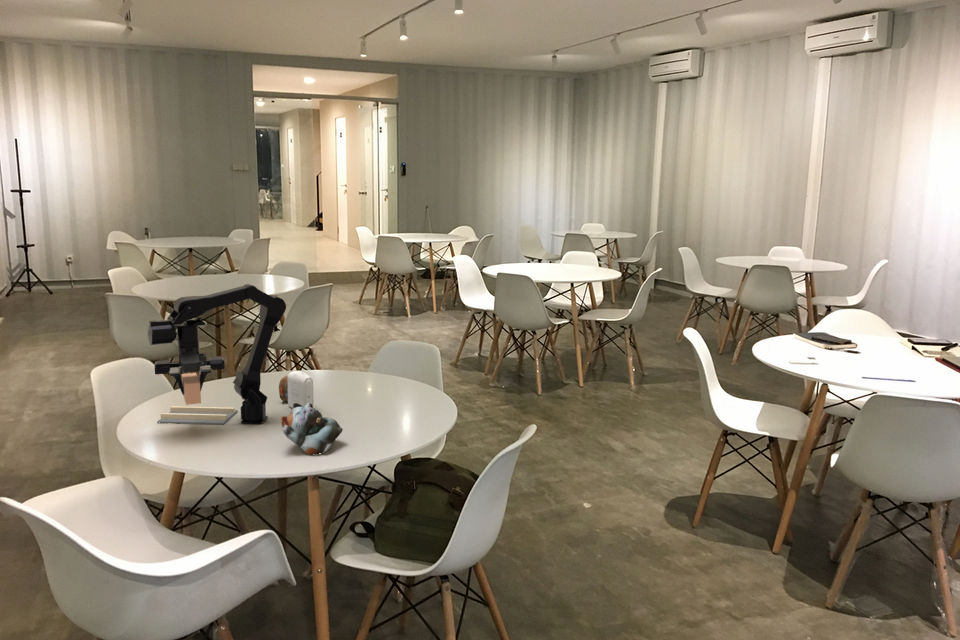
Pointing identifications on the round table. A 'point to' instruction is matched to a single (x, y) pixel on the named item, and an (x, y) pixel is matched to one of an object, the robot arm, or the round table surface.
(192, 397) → the pink rectangular brick
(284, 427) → the lucky cat figurine
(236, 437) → the round table surface
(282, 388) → the tin
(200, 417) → the slot mat
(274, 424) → the round table surface
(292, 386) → the photo printer
